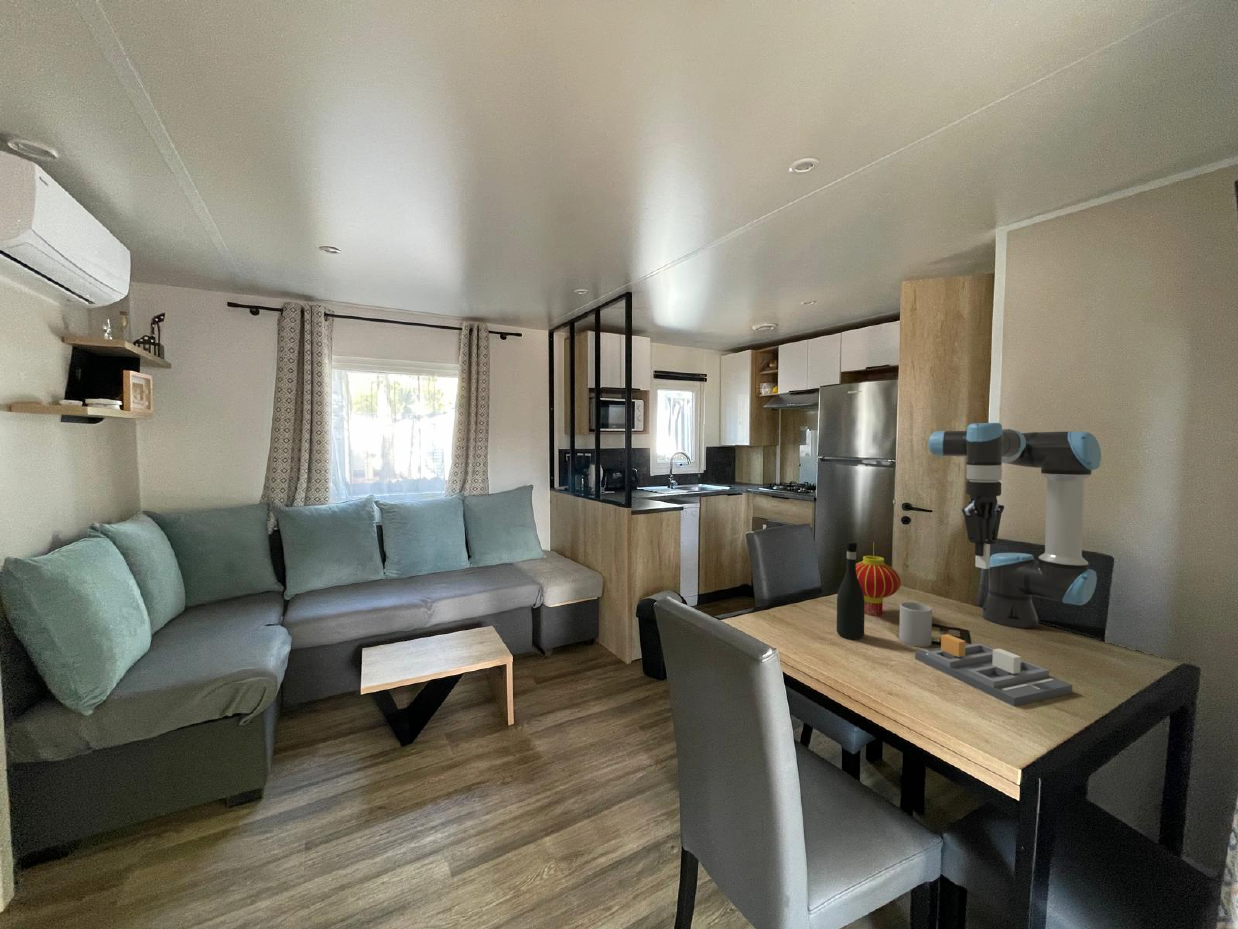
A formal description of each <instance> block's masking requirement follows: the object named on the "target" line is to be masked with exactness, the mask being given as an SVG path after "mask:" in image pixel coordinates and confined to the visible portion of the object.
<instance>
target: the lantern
mask: <svg viewBox="0 0 1238 929" xmlns="http://www.w3.org/2000/svg"><path fill="white" fill-rule="evenodd" d="M872 544H873V549H872V550H873V555H865V556H863V557H862V559H863V560H862V561H859V562H856V574H857V578H858V581H859V583H860V586H861V588H862V591H863V594H864V600H865V614H866V615H868V616H875V617H879V614H883V604H884V602H883V600H884V598H888V597H891V596H893V595H895V594H896V593H897V592H898V591H899V590H900V588H901V584H902V582H901V576H900V575H899V573H898V572H897V570H895V569H894V568H893V567H891V565H888V564H886V563H885V559H884V557H881V556H875V543H872Z"/></svg>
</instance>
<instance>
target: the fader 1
mask: <svg viewBox="0 0 1238 929" xmlns="http://www.w3.org/2000/svg"><path fill="white" fill-rule="evenodd" d="M965 643H967V642H966V640H964V639H961V638H958V637H957V636H956V637H955V636H953V635H951V634H947V633H946V634H942V635H940V647H941V650H943V657H945V658H947V659H954V658H960V657H963V656H965Z"/></svg>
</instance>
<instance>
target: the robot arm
mask: <svg viewBox="0 0 1238 929" xmlns="http://www.w3.org/2000/svg"><path fill="white" fill-rule="evenodd" d="M928 438H929V439H928V449H929V452H930V453H931V454H932V456H933V455H934V456H938V457H939V456H940V457H963V458H965V457H966V479H967V481H966V482H965V493H966V494H967V495H968V496H970V497H969V501H968V506H966V507H962V508H961V511H962V514H963V516H964V522H965V527H966V533H967V539H968V541H969V542H970V543H974V555H975V559H974V560H975V564H974V565H975V566H974V567H976V568H980V569H982V570H983V569H984V570H987V569H988V594H987V597H986V599H985V601H984V604H983V606H982V608H981V617H982V618H984V619H985V620H987V621H990V622H992V623H996V624H998V625H1002V626H1007V627H1012V628H1021V629H1033V628H1037V627H1038V626H1039V617H1038V614H1037V612H1036V609H1035V606H1034V604H1033V597H1034V596H1035V597H1038V598H1043V599H1047V600H1051V601H1057V602H1061V603H1063V604H1070V605H1074V606H1075V605H1077V606H1083V605H1085V604H1087V603H1088V602H1089V601H1090V600H1091V599H1092V596H1093V594H1094V593H1095V590H1096V586H1097V581H1098V580H1097V579H1098V576H1097V572H1096V571H1095V570H1093V569H1091V568H1089V562H1088V561H1087V559H1085V558H1084V557H1083V530H1084V529H1083V528H1084V527H1083V526H1084V502H1085V501H1084V500H1085V499H1084V498H1085V497H1084V496H1085V481H1086V479H1089V478H1090V477H1091V476H1092V471H1093V470H1097V469H1099V468H1100V466H1101V461H1102V453H1101V448H1100V447H1101V446H1100V444H1099V442H1098V439H1097V437H1096V436H1095V435H1094V434H1092V433H1091V432H1088V431H1078V430H1077V431H1075V430H1074V431H1073V430H1070V431H1042V432H1041V431H1039V432H1038V431H1032V432H1031V431H1030V432H1022V433H1021V432H1020V431H1019V430H1015V429H1010V428H1006V429H1005V428H1004V429H1003V425H1002V424H1001V423H1000V422H982V423H980V422H979V423H975V422H974V423H970V424H969V425H967V427H966V430H943V431H942V430H941V431H940V430H939V431H934V432H933V433H931V434H930V436H929V437H928ZM1002 464H1009V465H1013V466H1019V467H1020V466H1021V467H1023V468H1024V467H1026V468H1038V469H1040V474H1041V476H1043V477H1045V479H1046V503H1045V504H1046V507H1045V509H1046V510H1045V511H1046V513H1045V538H1044V539H1045V541H1044V543H1045V544H1044V553H1042V554H1040V555H1039V556H1038V560H1035V558H1034V557H1035V556H1034V555H1033V554H1029V553H1023V552H1022V553H1021V552H998V553H994V554H991V545H995V544H996V541H997V540H998V535H999V530H1000V525H1001V519H1002V514H1003V511H1004V509H1005V505H1003V504H999V503H998V502H999V501H998V498H997V497H1000V496H1001V495H1002V483H1001V481H1002V479H1003V476H1002V474H1003V470H1002V468H1003V465H1002ZM1000 480H1001V481H1000Z"/></svg>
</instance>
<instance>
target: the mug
mask: <svg viewBox="0 0 1238 929" xmlns="http://www.w3.org/2000/svg"><path fill="white" fill-rule="evenodd" d="M932 625H933V609H932V607H930V606H929V605H926V604H924V603H919V602H912V601H907V602H906V601H905V602H904V601H903V602H901V603H900V604H899V626H898V627H899V630H898V632H899V633H898V638H899V639H898V640H900V641H901V643H903V644H906V645H909V646H912V647H916V648H917V647H918V648H927V647H931V646H932V641H933V640H932V634H933V633H932V629H933V628H932Z"/></svg>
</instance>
